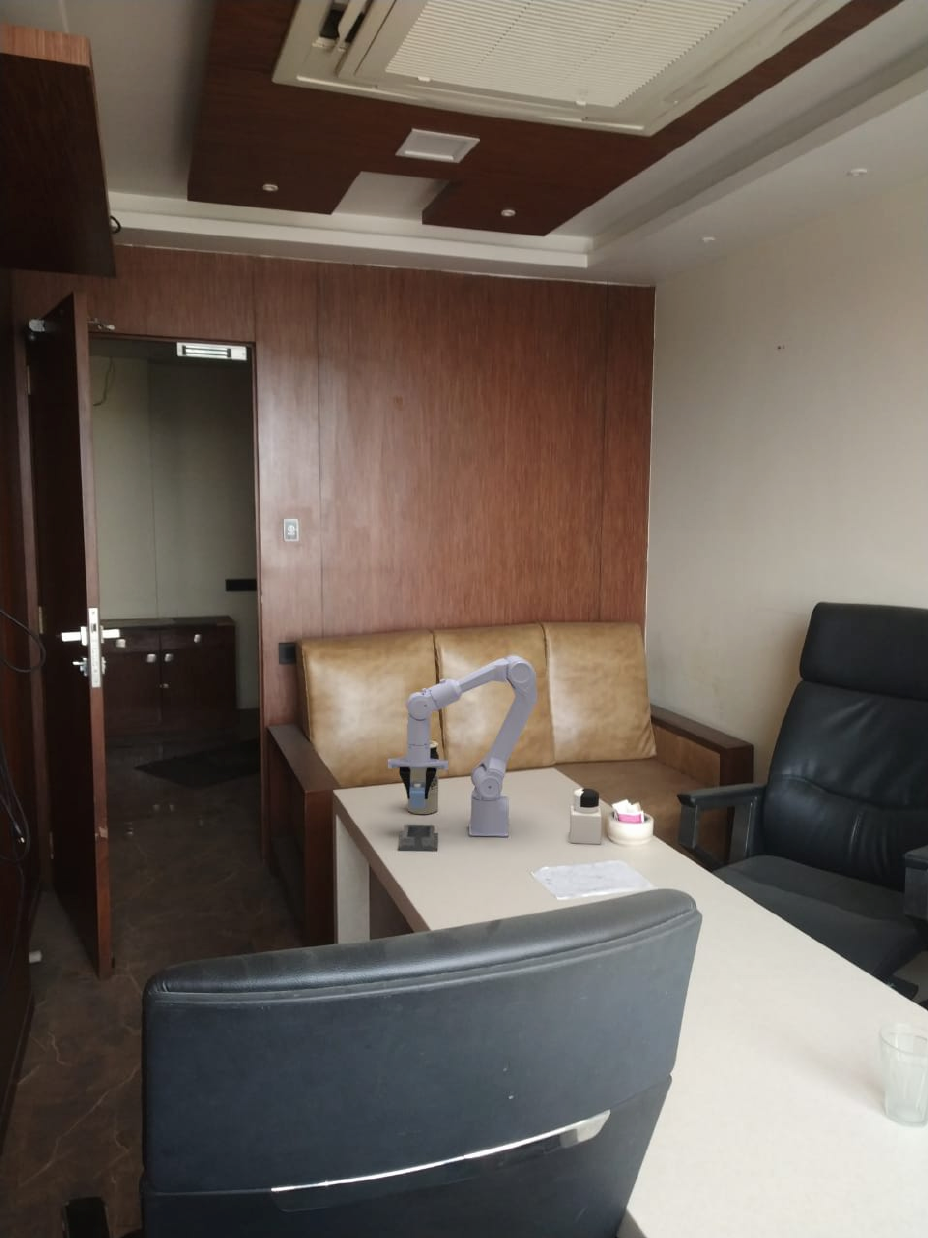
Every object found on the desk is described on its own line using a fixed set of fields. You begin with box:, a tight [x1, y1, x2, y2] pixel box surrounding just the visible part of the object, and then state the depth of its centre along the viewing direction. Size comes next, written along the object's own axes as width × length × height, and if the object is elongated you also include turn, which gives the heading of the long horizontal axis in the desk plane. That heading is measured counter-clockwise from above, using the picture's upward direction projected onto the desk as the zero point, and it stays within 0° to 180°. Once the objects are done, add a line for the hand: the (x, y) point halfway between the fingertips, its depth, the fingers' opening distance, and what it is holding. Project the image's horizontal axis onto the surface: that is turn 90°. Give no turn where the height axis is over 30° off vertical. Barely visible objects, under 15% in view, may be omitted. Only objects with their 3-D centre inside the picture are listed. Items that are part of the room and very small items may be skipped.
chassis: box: [397, 824, 439, 852], centre depth 206 cm, size 9×10×3 cm
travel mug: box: [407, 740, 440, 815], centre depth 229 cm, size 8×8×18 cm
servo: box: [409, 781, 426, 809], centre depth 212 cm, size 4×7×6 cm, turn 0°
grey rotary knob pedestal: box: [569, 788, 603, 845], centre depth 211 cm, size 7×7×12 cm
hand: (417, 797), depth 212 cm, fingers closed on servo, 4 cm apart
